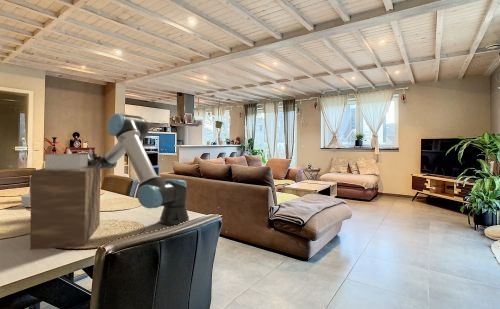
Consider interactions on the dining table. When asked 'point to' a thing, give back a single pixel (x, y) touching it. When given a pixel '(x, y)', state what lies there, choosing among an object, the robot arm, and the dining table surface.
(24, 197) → the ramekin
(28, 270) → the dining table surface
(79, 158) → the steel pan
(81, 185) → the walnut cabinet
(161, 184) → the robot arm
